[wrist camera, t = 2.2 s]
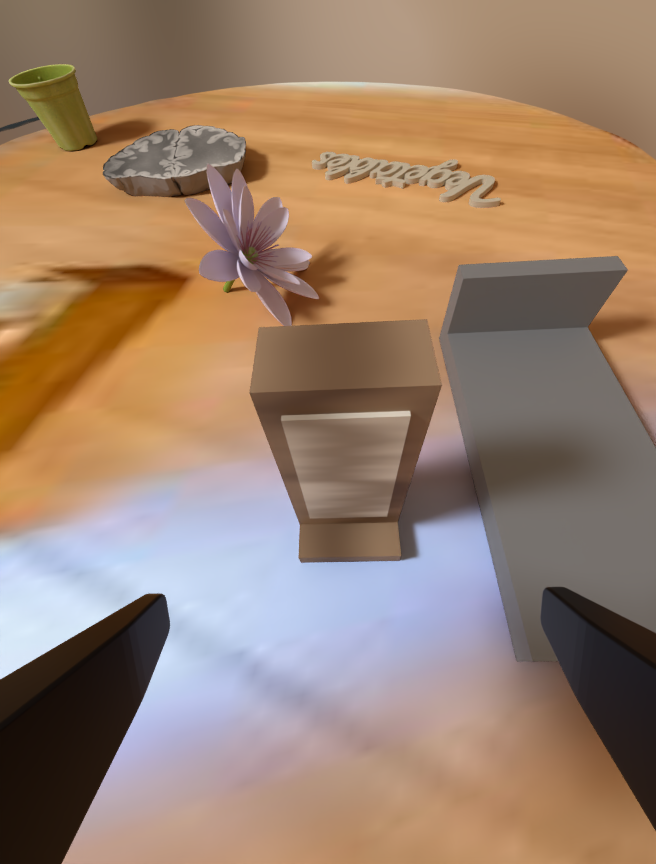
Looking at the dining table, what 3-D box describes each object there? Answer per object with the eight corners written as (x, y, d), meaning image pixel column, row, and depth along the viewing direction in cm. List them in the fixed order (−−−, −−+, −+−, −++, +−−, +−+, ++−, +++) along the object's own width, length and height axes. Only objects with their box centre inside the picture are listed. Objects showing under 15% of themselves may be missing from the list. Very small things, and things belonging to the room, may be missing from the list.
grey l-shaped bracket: (737, 660, 18) (918, 659, 13) (516, 661, 19) (590, 661, 13) (567, 332, 31) (617, 256, 25) (439, 338, 32) (458, 264, 26)
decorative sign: (515, 168, 46) (497, 205, 42) (513, 176, 47) (495, 214, 43) (332, 142, 54) (299, 172, 49) (332, 150, 55) (300, 180, 50)
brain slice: (248, 142, 58) (243, 118, 56) (253, 192, 49) (248, 167, 46) (125, 158, 57) (114, 135, 55) (107, 213, 48) (93, 188, 46)
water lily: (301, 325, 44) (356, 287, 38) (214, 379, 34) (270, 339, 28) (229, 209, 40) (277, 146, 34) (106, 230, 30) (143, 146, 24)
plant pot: (41, 159, 58) (-3, 87, 51) (60, 135, 64) (22, 67, 56) (99, 153, 58) (63, 80, 51) (113, 130, 64) (81, 61, 56)
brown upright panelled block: (388, 459, 26) (419, 283, 14) (399, 560, 22) (454, 440, 10) (304, 461, 26) (263, 291, 14) (301, 562, 22) (241, 447, 10)
